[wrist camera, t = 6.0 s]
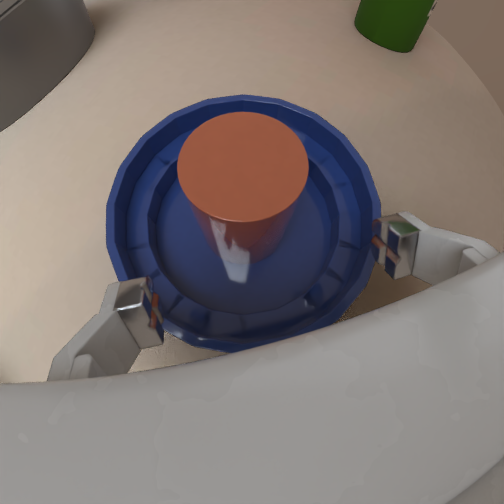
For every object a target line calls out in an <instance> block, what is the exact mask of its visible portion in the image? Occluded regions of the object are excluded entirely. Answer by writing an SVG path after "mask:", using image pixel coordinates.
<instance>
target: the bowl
mask: <svg viewBox="0 0 504 504" xmlns="http://www.w3.org/2000/svg"><path fill="white" fill-rule="evenodd" d="M233 112H253V113H259V114H263V115H267V116H270V117H272V118H274V119H276V120H278V121H280V122H282V123H283V124H285V125H286V126H288V127H289V128H290V129H291V130H292V131H293V132H294V133H295V134H296V135H297V136H298V138H299V139H300V140H301V142H302V144H303V146H304V148H305V150H306V153H307V157H308V162H309V171H308V178H307V181H306V184H305V187H304V189H303V192H302V194H301V196H300V199H299V201H298V203H297V206H296V208H295V211H294V213H293V215H292V218H291V220H290V222H289V225H288V227H287V229H286V232H285V234H284V236H283V238H282V241H281V243H280V244H279V246H278V248H277V249H276V250H275V251H274V252H273V253H272V254H271V255H270V256H268V257H267V258H265V259H263V260H261V261H259V262H256V263H252V264H235V263H231V262H228V261H225V260H223V259H221V258H220V257H218V256H217V255H216V254H215V253H213V251H212V250H211V249H210V248H209V247H208V245H207V243H206V241H205V239H204V237H203V235H202V233H201V230H200V228H199V226H198V224H197V222H196V219H195V217H194V215H193V213H192V210H191V208H190V206H189V204H188V201H187V199H186V197H185V195H184V192H183V190H182V188H181V186H180V183H179V179H178V174H177V162H178V157H179V153H180V151H181V148H182V146H183V144H184V142H185V141H186V139H187V138H188V137H189V135H190V134H191V133H192V132H193V131H194V130H195V129H196V128H198V127H199V126H200V125H202V124H203V123H205V122H206V121H208V120H210V119H212V118H214V117H217V116H220V115H223V114H227V113H233ZM378 218H381V204H380V200H379V197H378V194H377V191H376V188H375V185H374V182H373V179H372V176H371V173H370V171H369V168H368V166H367V164H366V163H365V162H364V160H363V159H362V157H361V156H360V155H359V153H358V152H357V151H356V149H355V148H354V147H353V145H352V144H351V143H350V141H349V140H348V139H347V137H346V136H345V135H344V134H342V133H341V132H340V131H339V130H337V129H336V128H335V127H334V126H332V125H331V124H330V123H328V122H327V121H326V120H324V119H323V118H322V117H320V116H319V115H318V114H316V113H314V112H312V111H309V110H307V109H304V108H302V107H300V106H297V105H295V104H292V103H290V102H287V101H284V100H282V99H281V100H280V99H277V98H270V97H262V96H254V95H234V96H226V97H219V98H212V99H207V100H203V101H201V102H198V103H196V104H193V105H191V106H188V107H186V108H183V109H181V110H179V111H176V112H174V113H172V114H170V115H169V116H167V117H166V118H165V119H163V120H162V121H161V122H159V123H158V124H157V125H156V126H154V127H153V128H152V129H150V130H149V131H148V132H147V133H145V134H144V135H143V136H142V137H141V138H140V139H139V141H138V142H137V143H136V145H135V146H134V147H133V149H132V150H131V151H130V153H129V154H128V155H127V157H126V158H125V160H124V161H123V162H122V164H121V165H120V167H119V169H118V172H117V174H116V177H115V180H114V183H113V186H112V189H111V192H110V195H109V198H108V201H107V205H106V245H107V246H106V247H107V250H108V253H109V256H110V259H111V261H112V264H113V267H114V270H115V273H116V275H117V278H118V281H124V280H128V279H133V278H137V277H141V276H146V275H149V276H150V277H151V279H152V282H153V284H154V291H153V292H155V293H156V294H158V295H159V297H160V299H161V302H162V305H163V310H164V322H163V323H162V324H161V325H162V327H163V329H164V330H165V331H166V332H168V333H170V334H172V335H173V336H175V337H177V338H179V339H180V340H182V341H184V342H186V343H188V344H190V345H191V346H194V347H198V348H203V349H209V350H214V351H220V352H226V353H235V352H239V351H243V350H247V349H251V348H255V347H258V346H262V345H266V344H270V343H273V342H277V341H280V340H284V339H287V338H291V337H294V336H298V335H301V334H304V333H308V332H311V331H314V330H317V329H321V328H324V327H327V326H330V325H332V324H333V323H335V322H336V321H337V320H339V318H340V317H341V316H342V315H343V314H344V313H345V311H346V310H347V309H348V308H349V307H350V305H351V304H352V303H353V302H354V301H355V299H356V298H357V297H358V296H359V294H360V293H361V292H362V291H363V289H364V288H365V287H366V285H367V283H368V280H369V278H370V275H371V272H372V269H373V267H374V264H375V261H376V260H375V259H374V257H373V255H372V252H371V240H372V238H373V236H374V235H375V234H374V233H373V232H372V222H373V220H374V219H378Z"/></svg>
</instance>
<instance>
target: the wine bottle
mask: <svg viewBox="0 0 504 504" xmlns="http://www.w3.org/2000/svg"><path fill="white" fill-rule="evenodd" d="M437 1H438V0H361V2H360V5H359V8H358V11H357V14H356V17H355V26H356V28H357V30H358V31H359V32H360V33H361V34H362V35H364V36H365V37H366V38H368V39H369V40H371V41H372V42H374V43H376V44H378V45H380V46H382V47H385V48H387V49H390V50H393V51H397V52H409V51H410V50H412V49H413V47H414V45H415V43H416V41H417V40H418V38H419V36H420V34H421V32H422V30H423V28H424V26H425V24H426V22H427V20H428V18H429V16H430V15H431V13H432V11H433V9H434V7H435V5H436V3H437Z"/></svg>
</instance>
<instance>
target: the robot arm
mask: <svg viewBox="0 0 504 504" xmlns="http://www.w3.org/2000/svg"><path fill="white" fill-rule="evenodd" d="M372 232H373V233H374V234H375V235H374V236H373V238H372V240H371V252H372V255H373V257H374V259H375V260H376V262H377V263H378V264H381V265H384V266H385V271H386V272H387V273H388V274H389V275H390V276H391V277H392V278H393V279H394V280H396V279H399V278H402V277H405V276H408V275H411V274H412V276H414V277H417V278H419V279H421V280H423V281H425V282H427V283H429V284H431V285H433V286H432V287H430V288H427V289H425V290H423V291H420V292H418V293H416V294H413V295H411V296H408V297H406V298H403V299H401V300H399V301H396V302H393V303H391V304H388V305H386V306H383V307H381V308H378V309H375V310H373V311H370V312H367V313H364V314H362V315H359V316H356V317H353V318H350V319H348V320H345V321H342V322H339V323H336V324H333V325H330V326H327V327H324V328H321V329H317V330H314V331H311V332H308V333H304V334H301V335H298V336H294V337H291V338H287V339H284V340H280V341H277V342H273V343H270V344H266V345H262V346H258V347H255V348H251V349H247V350H243V351H239V352H235V353H231V354H226V355H222V356H218V357H213V358H209V359H204V360H199V361H195V362H190V363H185V364H180V365H174V366H169V367H163V368H158V369H152V370H146V371H139V372H133V373H128V371H129V369H130V368H131V366H132V365H133V363H134V361H135V360H136V358H137V356H138V355H139V353H140V351H141V350H140V349H145V348H150V347H154V346H159V345H163V342H164V329H163V327H162V325H161V324H162V323H163V322H164V310H163V305H162V302H161V299H160V297H159V295H158V294H156V293H155V292H153V291H154V284H153V282H152V279H151V277H150V276H149V275H146V276H141V277H137V278H133V279H128V280H124V281H119V282H115V283H112V284H109V285H108V286H107V289H106V292H105V296H104V299H103V302H102V305H101V308H100V312H99V314H96V315H94V316H93V317H92V318H91V319H90V320H89V321H88V322H87V323H86V324H85V325H84V326H83V327H82V329H81V330H80V331H79V332H78V333H77V334H76V335H75V336H74V337H73V338H72V339H71V340H70V341H69V342H68V343H67V344H66V345H65V346H64V347H63V348H62V349H61V350H60V352H59V353H58V354H57V355H56V356H55V357H54V358H53V362H52V365H51V368H50V371H49V375H48V378H47V382H24V383H0V504H504V251H503V252H501V253H500V252H498V251H497V250H496V249H495V248H493V247H492V246H491V245H489V244H488V243H487V242H485V241H484V240H480V239H477V238H473V237H470V236H466V235H463V234H459V233H455V232H452V231H448V230H444V229H440V228H436V227H433V228H431V227H430V226H428V225H427V224H426V223H424V222H423V221H421V220H420V219H418V218H417V217H416V216H414V215H413V214H411V213H410V212H408V211H402V212H399V213H396V214H392V215H389V216H385V217H381V218H378V219H374V220H373V222H372Z"/></svg>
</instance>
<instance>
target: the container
mask: <svg viewBox="0 0 504 504" xmlns="http://www.w3.org/2000/svg"><path fill="white" fill-rule="evenodd" d="M94 35H95V29H94V27H93V24H92V22H91V19H90V17H89V14H88V12H87V9H86V7H85V4H84V2H83V0H0V131H2V130H4V129H5V128H7V127H8V126H9V125H11V124H12V123H14V122H15V121H16V120H17V119H19V118H20V117H21V116H22V115H24V114H25V113H26V112H27V111H29V110H30V109H31V108H32V107H33V106H34V105H36V104H37V103H38V102H39V101H40V100H41V99H42V98H43V97H44V96H46V95H47V94H48V93H49V92H50V91H51V90H52V89H53V88H54V87H55V86H56V85H57V84H58V83H59V82H60V81H61V80H62V79H63V78H64V77H65V76H66V75H67V74H68V73H69V72H70V71H71V70H72V69H73V67H74V66H75V65H76V64H77V63H78V62H79V61H80V59H81V58H82V57H83V55H84V54H85V53H86V51H87V50H88V48H89V47H90V45H91V43H92V41H93V39H94Z"/></svg>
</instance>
